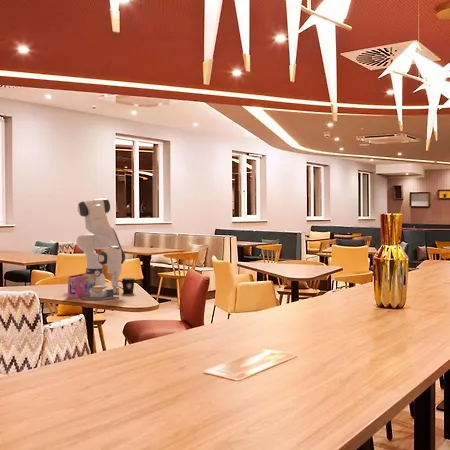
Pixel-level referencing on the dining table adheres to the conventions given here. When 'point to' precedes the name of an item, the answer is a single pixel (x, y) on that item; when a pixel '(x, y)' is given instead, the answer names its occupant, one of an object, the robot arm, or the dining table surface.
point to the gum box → (80, 284)
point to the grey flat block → (102, 293)
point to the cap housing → (98, 289)
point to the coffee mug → (127, 285)
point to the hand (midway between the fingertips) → (114, 292)
